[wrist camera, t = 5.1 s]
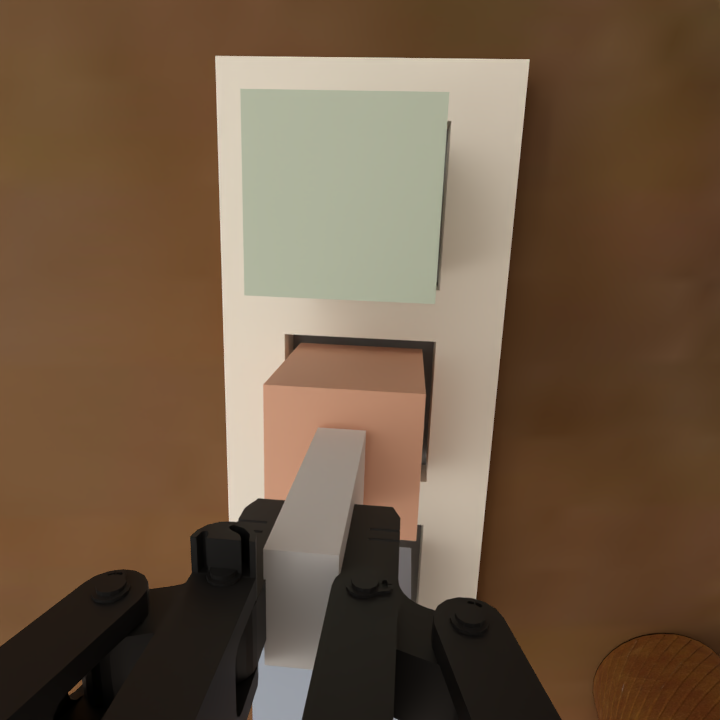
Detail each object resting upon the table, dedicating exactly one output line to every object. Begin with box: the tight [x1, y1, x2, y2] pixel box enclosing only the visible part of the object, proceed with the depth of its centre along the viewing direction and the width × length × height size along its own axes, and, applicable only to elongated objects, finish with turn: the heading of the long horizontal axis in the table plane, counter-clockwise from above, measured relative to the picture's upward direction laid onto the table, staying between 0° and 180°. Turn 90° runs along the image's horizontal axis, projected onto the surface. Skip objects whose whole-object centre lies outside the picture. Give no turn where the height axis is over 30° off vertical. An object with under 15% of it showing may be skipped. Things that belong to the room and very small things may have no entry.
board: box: [215, 56, 530, 610], centre depth 23 cm, size 26×11×2 cm, turn 178°
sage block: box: [240, 89, 449, 304], centre depth 17 cm, size 5×5×6 cm
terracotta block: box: [263, 343, 426, 541], centre depth 20 cm, size 5×5×6 cm
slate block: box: [252, 547, 411, 720], centre depth 21 cm, size 5×5×6 cm
